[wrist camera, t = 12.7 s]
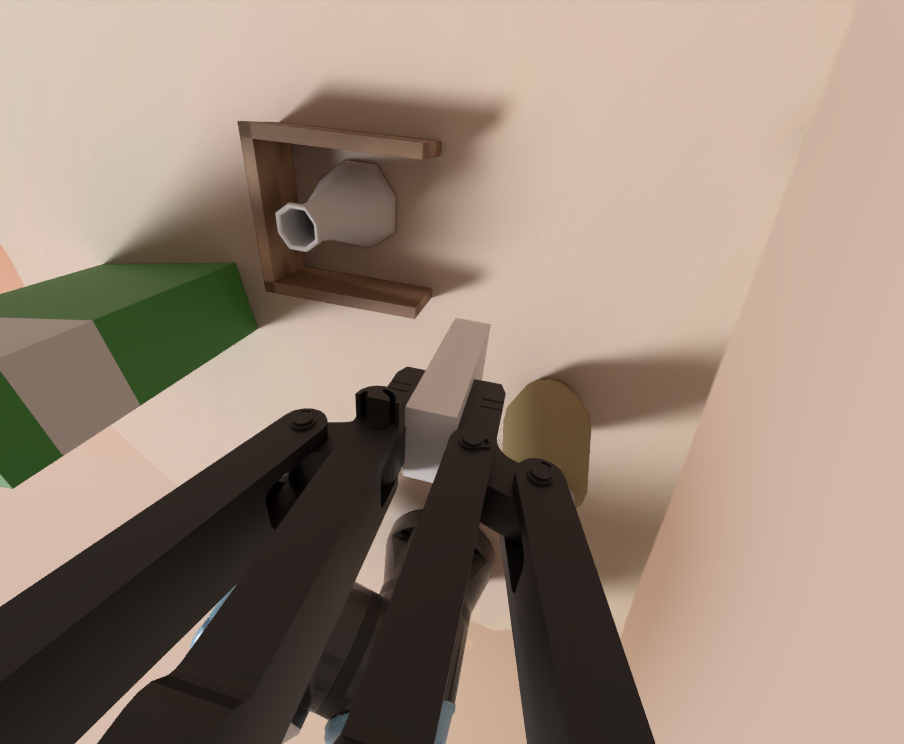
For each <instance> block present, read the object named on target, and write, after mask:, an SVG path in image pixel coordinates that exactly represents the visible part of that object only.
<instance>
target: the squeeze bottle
mask: <svg viewBox="0 0 904 744" xmlns="http://www.w3.org/2000/svg"><path fill="white" fill-rule="evenodd" d="M590 439H591V422H590V414H589V413H588V411H587V410H586V408H585V407H584V405H583V404H582V402H581V401H580V400H579V398H578V397H577V396H576V394H575V393H574V392H573V390H572V389H571V388H570V387H568V386H567V385H565V384H564V383H562V382H560V381H556V380H552V379H543V380H536V381H534V382H532V383H530V384H528V385H527V386H526V387H525V388H524V389H523V390H522V391H521V392H520V394H519V395H518V396H517V397H516V398H515V399H514V400H513V401H512V402H511V404H510V405H509V406H508V407H507V410H506V413H505V417H504V428H503V453H504V454H505V455H506V456H507V457H509V458H511V459H512V460H514V461H516V462H518V463H520V462H521V461H523V460H525V459H528V458H539V459H544V460H547V461H549V462H551V463H553V464H555V465H556V466H557V467H558V468H559V469H560V470H561V471H562V473H563V474H564V476H565V478H566V481H567V484H568V487H569V490H570V493H571V496H572V499H573V502H574V505H575V508H577V507H578V506H579V505H581V504H582V502H583V500H584V498H585V496H586V494H587V484H588V469H589V454H590Z"/></svg>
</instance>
